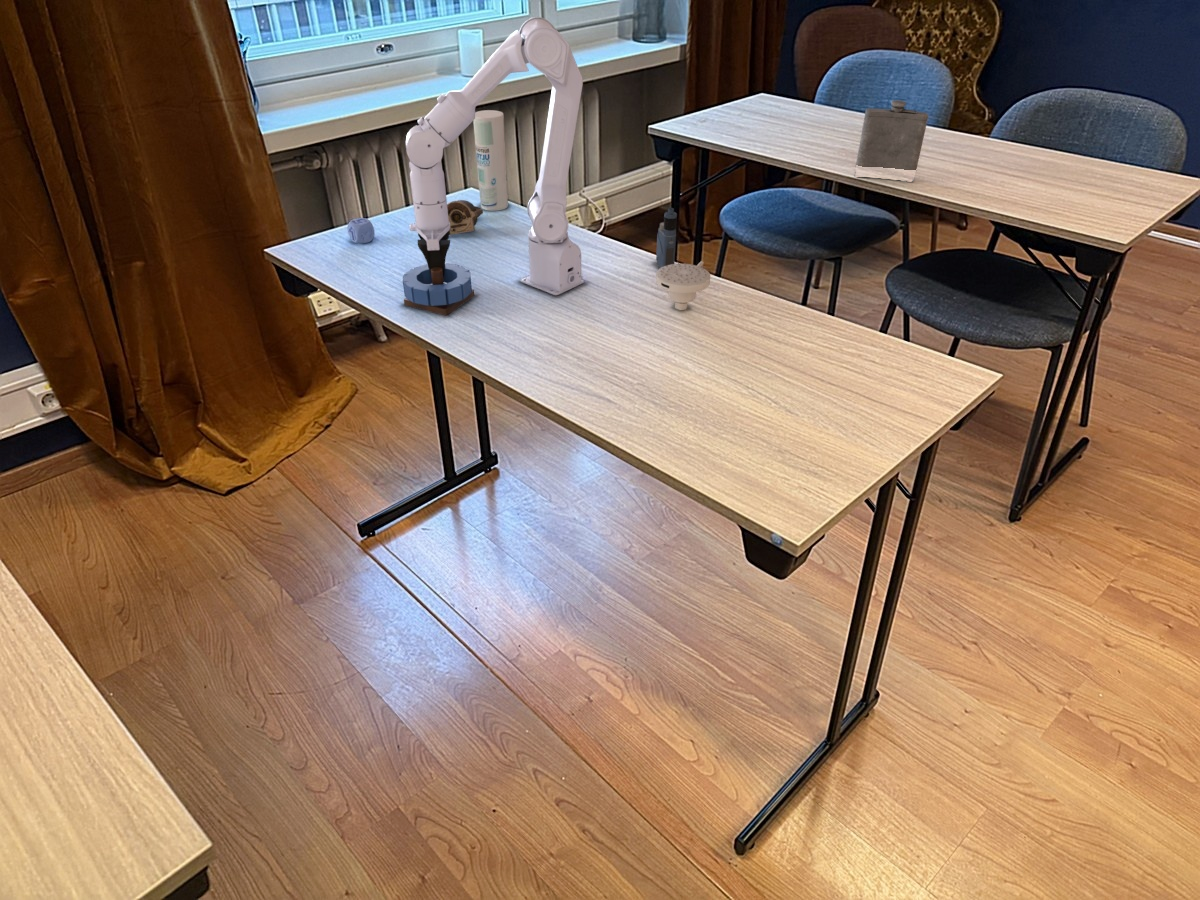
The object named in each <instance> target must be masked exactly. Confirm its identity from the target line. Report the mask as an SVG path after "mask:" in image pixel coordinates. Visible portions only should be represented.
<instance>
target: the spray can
mask: <svg viewBox="0 0 1200 900" xmlns="http://www.w3.org/2000/svg"><path fill="white" fill-rule="evenodd" d="M472 123H473V133H474V143H475V155H476V168H477V176H478V177H477V179H478V191H479V192H478V193H479V200H480V203H479V204H480V208H481V209H482V210H484V211H493V212H494V211H503V210H505V209H507V208H508V207H509V192H508V175H507V173H508V171H507V155H506V135H505V134H506V132H505V117H504V112H503V111H501V110H500V111H499V110H493V109H492V110H491V109H487V110H485V109H483V110H479V111H475V119H474V120H473V121H472Z"/></svg>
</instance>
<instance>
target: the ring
mask: <svg viewBox="0 0 1200 900" xmlns="http://www.w3.org/2000/svg"><path fill="white" fill-rule="evenodd" d="M443 281H444V283H446V284H442V285H428V284H432V277H431V273H430V271H429V267H428V264H427V263H426V264H422V265H419V266H416V267H413V268H411V269H408V271H407V272H404V274H403V275H402V285H403V286H402V287H403V294H404V297H405V298H407V299H409V300H410V301H412V302H415V303H417V304H422V305H430V304H431V306H437V305H447V303H448V304H452V303H455V302H458V301H462V299H465V298H466V297H467V296H469V295H470V294H471V292H472V290H473V286H472V275H471V271H470V270H469V269H467V268H466V267H464V266H463V265H460V264H455V263H450V262H445V273H444V277H443Z"/></svg>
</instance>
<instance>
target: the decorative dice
mask: <svg viewBox="0 0 1200 900" xmlns="http://www.w3.org/2000/svg"><path fill="white" fill-rule="evenodd" d="M347 233H348V237H349V238H350V240H351V241H352V242H353V243H355V244H360V245H361V244H367V243H370V242H371V241H372V240H373V239H374V237H375V234H376V233H375V227H374V225H373V223H372V221H371V220H370V219H368V218H366V217H357V218H353V219H351V220H350V221H349V222H348V224H347Z"/></svg>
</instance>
